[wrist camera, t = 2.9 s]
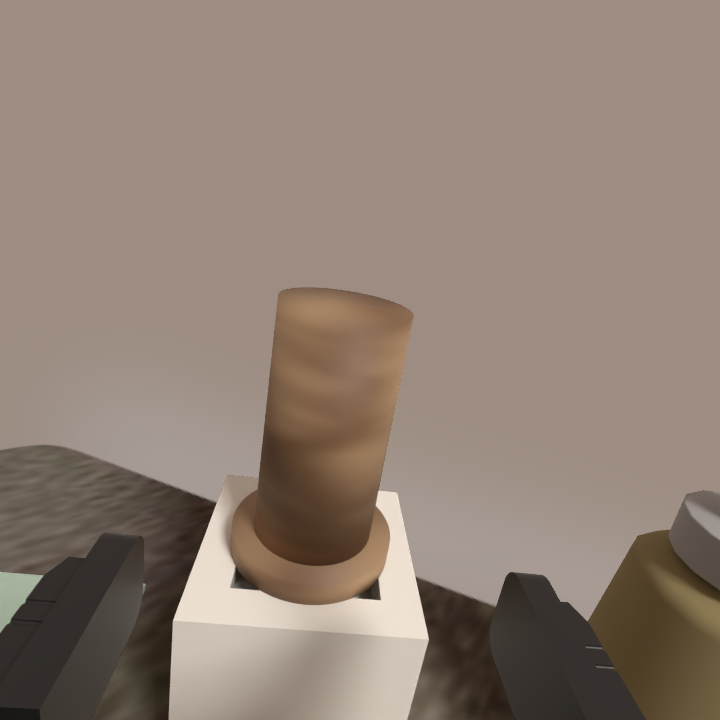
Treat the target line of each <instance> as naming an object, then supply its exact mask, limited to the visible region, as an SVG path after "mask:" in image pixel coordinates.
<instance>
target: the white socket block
mask: <svg viewBox="0 0 720 720" xmlns="http://www.w3.org/2000/svg"><path fill="white" fill-rule="evenodd" d="M258 481H259V478H253V477H243V476H233V475H227V478H226V480H225V483H224V485H223V488H222V491H221V493H220V496H219V499H218V501H217V504H216V507H215V509H214V512H213V515H212V517H211V520H210V523H209V525H208V528H207V531H206V534H205V536H204V539H203V542H202V544H201V547H200V550H199V552H198V555H197V558H196V560H195V563H194V566H193V568H192V571H191V574H190V576H189V579H188V582H187V584H186V587H185V590H184V592H183V595H182V598H181V600H180V603H179V606H178V608H177V611H176V614H175V617H174V619H173V632H172V654H171V676H170V698H169V720H407V718H408V715H409V711H410V707H411V704H412V700H413V696H414V692H415V689H416V685H417V681H418V678H419V674H420V670H421V667H422V663H423V659H424V655H425V652H426V648H427V644H428V641H429V638H428V633H427V629H426V624H425V619H424V615H423V610H422V606H421V601H420V596H419V592H418V587H417V583H416V578H415V574H414V569H413V564H412V560H411V555H410V550H409V546H408V541H407V536H406V532H405V527H404V523H403V518H402V513H401V509H400V504H399V499H398V495H397V493H395V492H385V491H378V496H377V501H376V506H377V508H378V509H379V510H380V511H381V512H382V514H383V515H384V517H385V519H386V521H387V523H388V526H389V530H390V544H389V549H388V554H387V558H386V563H385V566H384V569H383V571H382V573H381V575H380V577H379V578H378V580H377V581H376V582H375V583H374V584H373V585H372V586H371V587H370V588H369V589H368V590H366V591H364V592H363V593H361V594H360V595H358V596H356V597H353V598H351V599H349V600H345V601H342V602H338V603H333V604H327V605H303V604H296V603H291V602H287V601H283V600H280V599H277V598H274V597H272V596H270V595H268V594H266V593H264V592H262V591H260V590H259V589H257V588H256V587H254V586H253V585H252V584H250V583H249V582H248V581H247V580H246V579H245V578H244V577H243V576H242V575H241V573H240V572H239V571H238V569H237V567H236V566H235V564H234V561H233V559H232V555H231V550H230V540H231V529H232V521H233V516H234V513H235V511H236V509H237V507H238V506H239V504H240V503H241V502H242V501H243V500H244V499H245V498H246V497H247V496H248V495H249V494H251V493H252V492H254V491H255V490H257V489H258Z"/></svg>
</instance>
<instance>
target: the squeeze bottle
mask: <svg viewBox="0 0 720 720" xmlns="http://www.w3.org/2000/svg"><path fill="white" fill-rule="evenodd" d="M588 623H589V624H590V626H591V628H592V629H593V631H594V633H595V634H596V636H597V638H598V640H599V641H600V643H601V645H602V649H603V651H606V653H607V655H608V656H609V658H610V660H611V661H612V663H613V665H614V670H615V671H617V672H618V673H619V675H620V677H621V678H622V680H623V682H624V683H625V685H626V687H627V688H628V690H629V692H630V693H631V695H632V697H633V699H634V700H635V702H636V704H637V705H638V707H639V709H640V710H641V712H642V714H643V715H644V717H645V719H646V720H720V492H712V491H704V490H703V491H698V492H694V493H689V494H687V495H686V497H685V498H684V501H683V503H682V505H681V507H680V509H679V512H678V514H677V516H676V518H675V521H674V523H673V526H672V528H671V530H661V531H655V532H651V533H647V534H643V535H639V536H637V538H636V540H635V541H634V543H633V545H632V546H631V548H630V550H629V551H628V553H627V555H626V557H625V558H624V560H623V562H622V563H621V565H620V567H619V569H618V570H617V572H616V574H615V576H614V577H613V579H612V581H611V583H610V584H609V586H608V588H607V589H606V591H605V593H604V595H603V596H602V598H601V600H600V601H599V603H598V605H597V607H596V608H595V610H594V612H593V614H592V615H591V617H590V619H589V620H588Z"/></svg>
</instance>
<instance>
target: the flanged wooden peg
mask: <svg viewBox="0 0 720 720" xmlns="http://www.w3.org/2000/svg"><path fill="white" fill-rule="evenodd" d="M412 320H413V313H412V312H411V311H410V310H409V309H407V308H405V307H403V306H402V305H399V304H397V303H394V302H391V301H389V300H385V299H382V298H379V297H375V296H371V295H366V294H361V293H356V292H350V291H344V290H337V289H327V288H291V289H286V290H283V291H281V292H280V293H279V294H278V302H277V312H276V321H275V331H274V341H273V349H272V359H271V368H270V378H269V387H268V396H267V406H266V415H265V425H264V435H263V444H262V453H261V462H260V472H259V481H258V489H257V490H255V491H254V492H252V493H251V494H249V495H248V496H247V497H246V498H245V499H244V500H243V501H242V502H241V503H240V504H239V506H238V507H237V509H236V511H235V513H234V516H233V521H232V529H231V540H230V550H231V555H232V559H233V561H234V564H235V566H236V567H237V569H238V571H239V572H240V573H241V575H242V576H243V577H244V578H245V579H246V580H247V581H248V582H249V583H250V584H252V585H253V586H254V587H256V588H257V589H259V590H260V591H262V592H264V593H266V594H268V595H270V596H272V597H274V598H277V599H280V600H283V601H287V602H291V603H296V604H303V605H327V604H333V603H338V602H342V601H345V600H349V599H351V598H353V597H356V596H358V595H360V594H361V593H363V592H364V591H366V590H368V589H369V588H370V587H371V586H372V585H373V584H374V583H375V582H376V581H377V580H378V578H379V577H380V575H381V573H382V571H383V569H384V566H385V563H386V558H387V554H388V549H389V544H390V530H389V526H388V523H387V521H386V519H385V517H384V515H383V514H382V512H381V511H380V510H379V509H378V508H377V506H376V501H377V496H378V491H379V486H380V481H381V475H382V470H383V465H384V461H385V456H386V450H387V446H388V441H389V435H390V430H391V425H392V420H393V415H394V410H395V405H396V400H397V395H398V390H399V385H400V380H401V375H402V370H403V365H404V360H405V355H406V350H407V345H408V340H409V335H410V330H411V325H412Z"/></svg>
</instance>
